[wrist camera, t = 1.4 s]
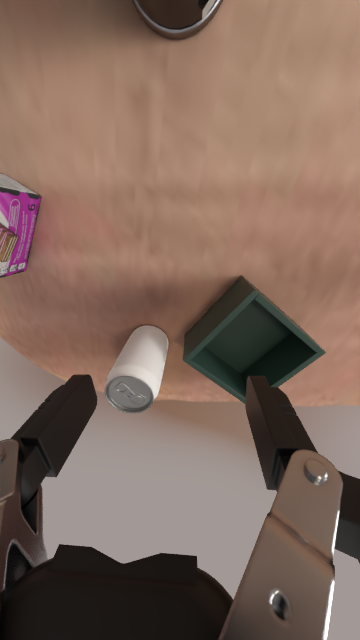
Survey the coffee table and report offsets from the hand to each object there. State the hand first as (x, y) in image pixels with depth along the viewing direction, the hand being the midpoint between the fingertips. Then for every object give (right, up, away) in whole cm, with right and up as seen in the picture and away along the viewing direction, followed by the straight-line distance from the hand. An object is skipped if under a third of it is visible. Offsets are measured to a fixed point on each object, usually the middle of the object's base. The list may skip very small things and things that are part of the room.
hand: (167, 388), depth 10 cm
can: (-4, 0, +24) cm, 24 cm away
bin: (+10, +2, +22) cm, 24 cm away
